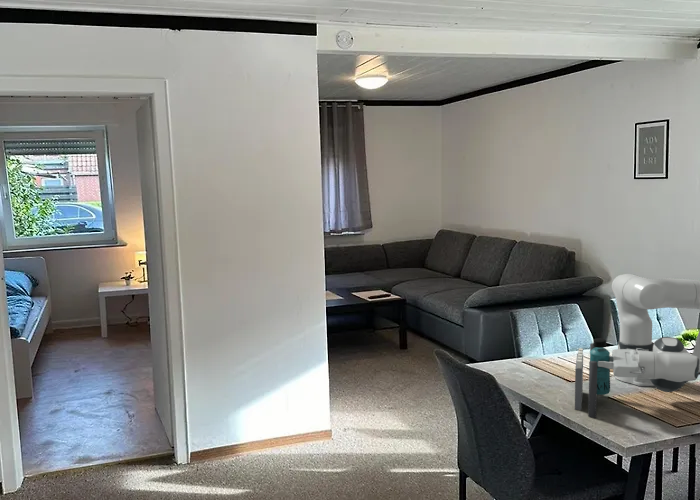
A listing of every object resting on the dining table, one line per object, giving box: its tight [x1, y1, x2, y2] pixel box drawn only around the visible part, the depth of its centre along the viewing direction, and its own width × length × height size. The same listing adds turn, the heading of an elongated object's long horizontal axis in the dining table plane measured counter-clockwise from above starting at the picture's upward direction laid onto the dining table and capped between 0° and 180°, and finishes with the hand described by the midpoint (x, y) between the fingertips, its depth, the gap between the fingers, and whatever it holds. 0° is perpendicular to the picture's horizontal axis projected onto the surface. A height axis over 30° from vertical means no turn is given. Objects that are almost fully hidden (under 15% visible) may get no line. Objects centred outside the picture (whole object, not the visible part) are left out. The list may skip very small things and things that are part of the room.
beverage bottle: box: [589, 337, 611, 396], centre depth 211 cm, size 6×7×20 cm
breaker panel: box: [574, 347, 584, 411], centre depth 214 cm, size 2×18×16 cm, turn 158°
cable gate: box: [587, 342, 598, 419], centre depth 210 cm, size 2×24×18 cm, turn 158°
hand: (597, 361), depth 209 cm, fingers open, 4 cm apart
